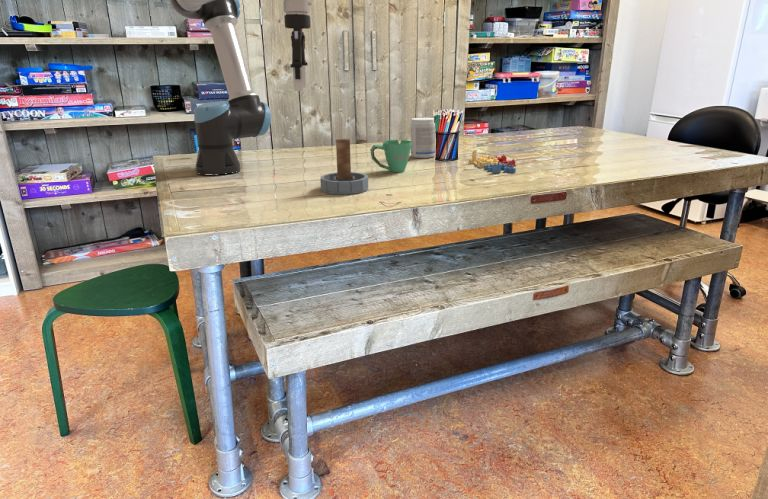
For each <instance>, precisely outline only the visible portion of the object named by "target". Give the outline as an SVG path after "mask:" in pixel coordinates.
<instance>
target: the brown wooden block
mask: <svg viewBox="0 0 768 499" xmlns="http://www.w3.org/2000/svg"><path fill="white" fill-rule="evenodd" d="M335 145H336V146H335V147H336V148H335V149H336V150H335V152H336V172H337V178H338V179H351V172H352V166H351V164H352V163H351V160H352V159H351V139H350V138H336V139H335Z"/></svg>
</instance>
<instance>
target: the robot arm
mask: <svg viewBox="0 0 768 499" xmlns="http://www.w3.org/2000/svg"><path fill="white" fill-rule="evenodd" d="M169 1H170V4H171V6H172V8H173V9H174V10H175V11H176V12H177V13H178V14H179V15H181V16H182V17H185V18H186V19H190V20H191V19H192V20H202V22H203V26H204V28H205V29H206V30H208V31H209V32H210V34H211V38H212V41H213V44H214V49H215V52H216V55H217V59H218V62H219V65H220V68H221V74H222V77H223V80H224V83H225V86H226V87H225V88H226V91H227V94H228V99H227V100H218V101H211V102H206V103H201V104H199V105H196V107H195V108H194V109H193V115H194V116H193V118H194V119H193V122H194V125H195V132H196V140H197V148H198V149H197V150H198V152H197V157H196V162H195V166H194V167H195V173H196V172H197V173H200V174H225V173H232V172H236V171H239V170H240V169H241V162H240V160H239V158H238V155H237V154H236V151H235V149H234V142H233V140H237V139H246V138H256V137H260V136H265V135H266V134H267V133H268V131H269V130H270V127H271V123H272V113H271V109H270V107H269V105H268V104H267V103H265V102H263V101H261V98H260V96H259V94H257V93H256V92H254V89H253V87H252V83H251V79H250V76H249V73H248V72H249V71H248V69H247V68H248V67H247V66H246V62H245V58H244V54H243V51H242V48H241V44H240V41H239V37H238V34H237V29H236V25H237V23H238V19H239V17H240V15H241V10H240V9H241V4H240V0H169ZM310 6H312V2H311V1H310V0H283V12H284V13H285V14H284V27H285V28H286V29H290V30H291V29H292V31H291V35H290V41H291V50H292V51H291V52H292V53H291V57H292V61H291V63H290V65H289V67H290V68H292V78H293V79H292V80H293V91H294V92H304V88H307V77H306V75H307V73H306V66H308V62H307V60H306V52H305V49H306V35H305V34H304V32H303V29H305V30H306V29H307V30H309V29H311V16H310V15H309V13H310ZM241 170H242V169H241ZM239 172H240V171H239ZM197 173H196V174H197ZM236 173H237V172H236ZM232 174H233V173H232Z"/></svg>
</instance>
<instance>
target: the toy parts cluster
mask: <svg viewBox="0 0 768 499" xmlns="http://www.w3.org/2000/svg"><path fill="white" fill-rule="evenodd" d="M477 151H478V150H477V149H473V151H471V152H472V153H471V154H472V156H471V158H468V162H469V163H471V164H473V165H475V166H476V167H478V168H480V169H483V170H484V171H487V172H488V173H491V174H494V175H495V174H501V173H502V171H503V172H504V173H506V174H507V173H508V174H516V170H517V168H515V167H517V165H516V160H515V159H514V158H512V159H511V160H508V159H507V156H506V155H505V154H502V155H500V156H497V155H495V156H493V157H491V155H486V154H481V155H479V156H478V157H477V153H478V152H477Z"/></svg>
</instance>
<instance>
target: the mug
mask: <svg viewBox="0 0 768 499" xmlns="http://www.w3.org/2000/svg"><path fill="white" fill-rule="evenodd" d="M411 145H412V142H411V140H406V139H405V140H404V139H401V140H400V142H399V140H398V139H389V140H384V141H382V145H381V144H373V145H372V146H371V147H370V157H371V160H373V162H374V163H376V165H377V166H379V167H380V168H382V169H384V170H388V171H390V173H403V172H405V171H406V168H407V164H408V162H409V159H410V155H411ZM377 149H378V150H383V151H384V155H385V160H386V162H387V165H385V164H382V163H381V162H380V161H379V160H378V159H377V158H376V156H375V151H376V150H377Z"/></svg>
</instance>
